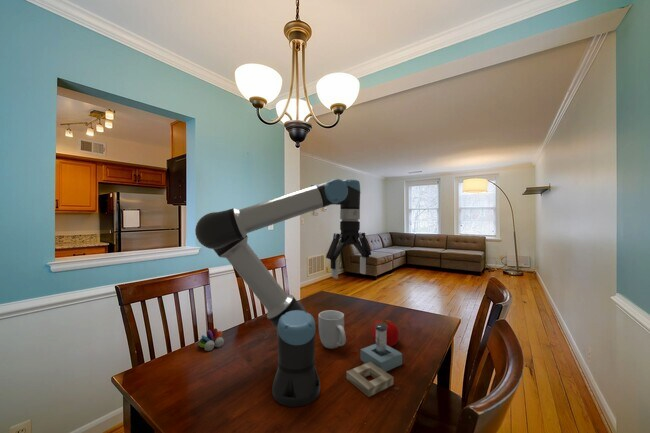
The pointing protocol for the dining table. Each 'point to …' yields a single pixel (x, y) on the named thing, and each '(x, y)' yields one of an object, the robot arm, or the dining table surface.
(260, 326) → the dining table surface
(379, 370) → the beige square frame
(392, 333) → the tomato
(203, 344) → the multicoloured knobbly toy
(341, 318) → the mug
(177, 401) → the dining table surface
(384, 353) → the pin
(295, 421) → the dining table surface
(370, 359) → the socket
